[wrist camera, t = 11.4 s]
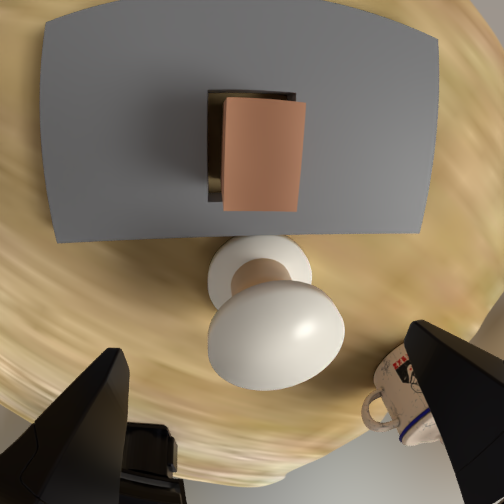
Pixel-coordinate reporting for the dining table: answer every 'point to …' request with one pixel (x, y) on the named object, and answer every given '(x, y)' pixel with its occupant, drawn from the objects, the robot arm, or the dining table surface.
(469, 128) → the dining table surface
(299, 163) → the brown rectangular block
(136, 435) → the robot arm
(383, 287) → the dining table surface
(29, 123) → the dining table surface
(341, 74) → the slotted board
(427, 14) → the dining table surface
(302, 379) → the spool
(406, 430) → the white printed mug
